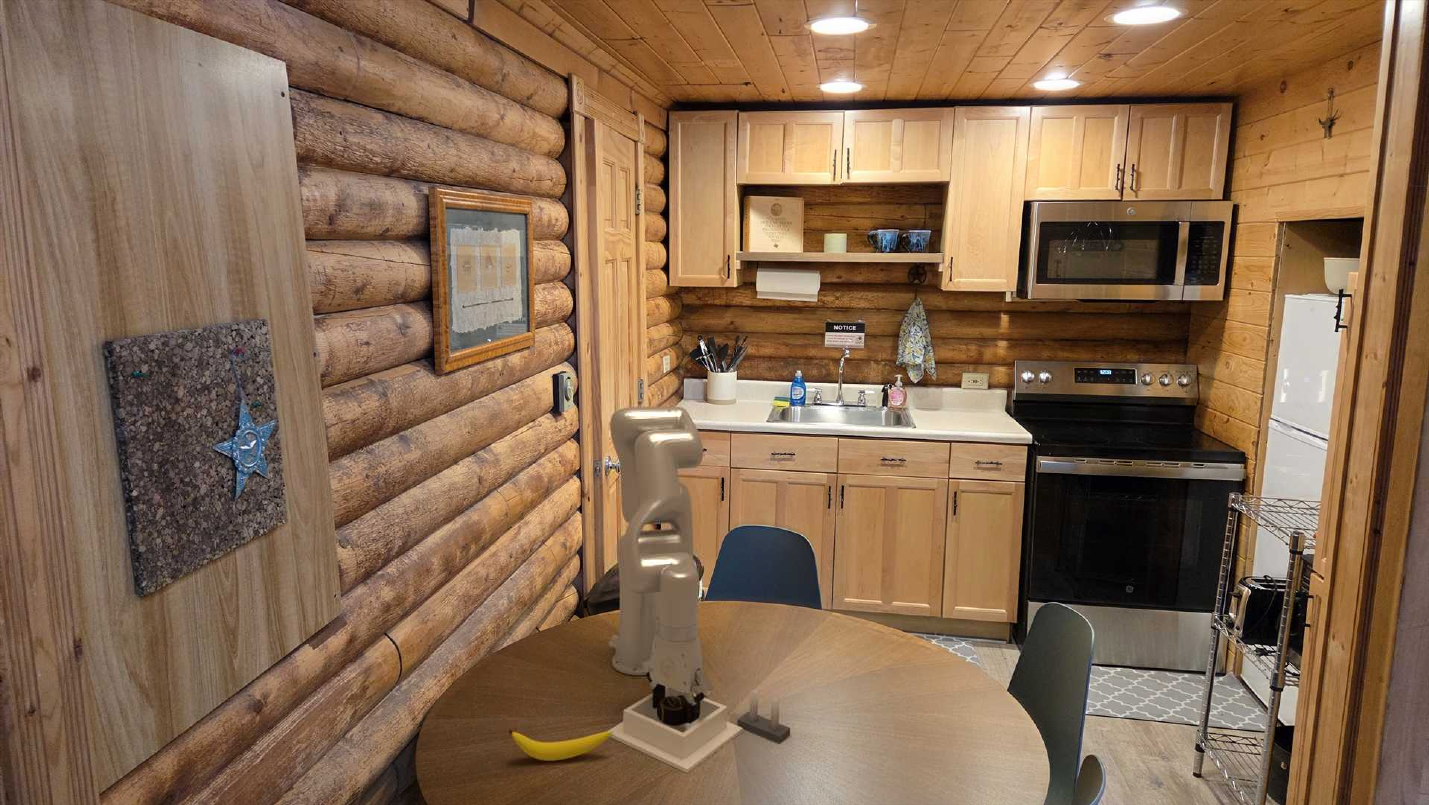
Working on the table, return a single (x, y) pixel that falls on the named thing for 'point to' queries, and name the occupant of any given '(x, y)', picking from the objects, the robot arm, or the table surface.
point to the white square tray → (676, 732)
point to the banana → (559, 746)
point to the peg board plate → (764, 721)
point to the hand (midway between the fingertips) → (675, 712)
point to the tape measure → (673, 710)
